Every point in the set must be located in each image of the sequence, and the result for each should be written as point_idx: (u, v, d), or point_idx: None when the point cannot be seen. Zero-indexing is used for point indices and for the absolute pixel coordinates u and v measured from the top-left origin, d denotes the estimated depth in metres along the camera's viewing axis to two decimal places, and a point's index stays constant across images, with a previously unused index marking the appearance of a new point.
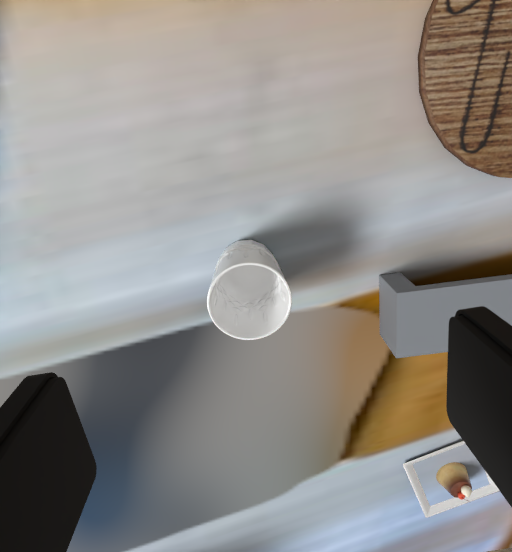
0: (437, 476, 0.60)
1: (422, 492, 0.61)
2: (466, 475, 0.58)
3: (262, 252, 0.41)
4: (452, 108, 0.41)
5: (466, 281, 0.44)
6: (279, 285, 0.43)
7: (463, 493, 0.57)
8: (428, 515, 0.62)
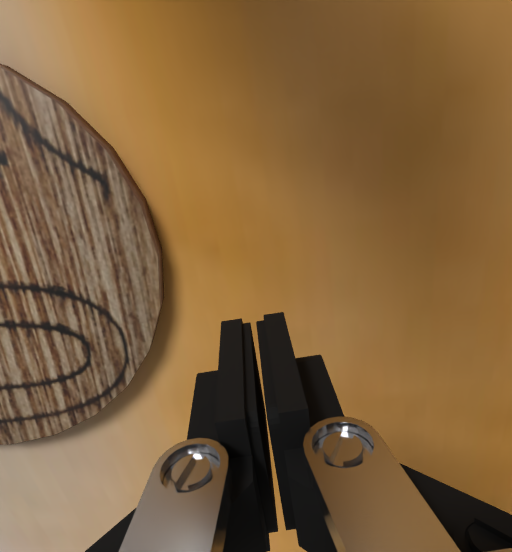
0: None
1: None
2: None
3: None
4: None
5: None
6: None
7: None
8: None
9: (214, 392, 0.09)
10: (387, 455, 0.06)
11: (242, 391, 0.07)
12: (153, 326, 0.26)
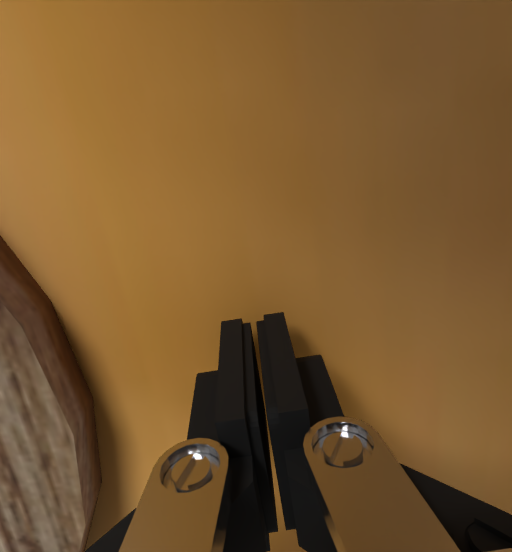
0: None
1: None
2: None
3: None
4: None
5: None
6: None
7: None
8: None
9: (215, 392, 0.09)
10: (387, 455, 0.06)
11: (242, 391, 0.07)
12: None
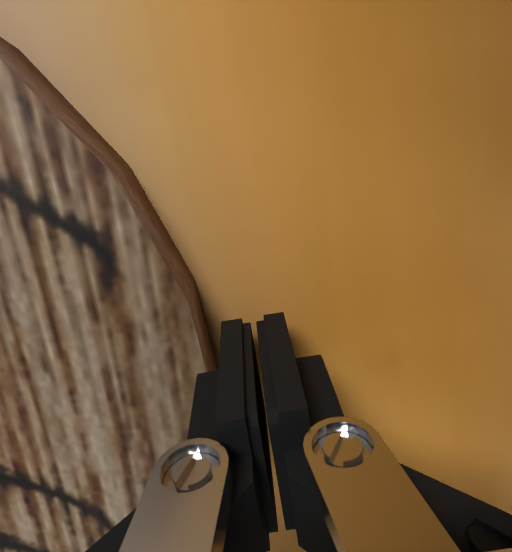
0: None
1: None
2: None
3: None
4: None
5: None
6: None
7: None
8: None
9: (215, 393, 0.09)
10: (387, 455, 0.06)
11: (242, 391, 0.07)
12: None
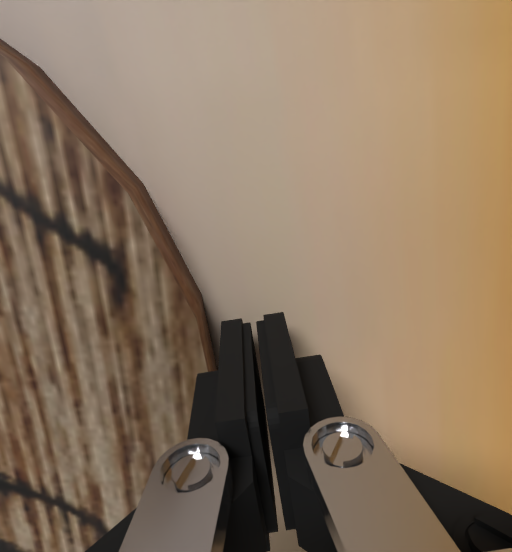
0: None
1: None
2: None
3: None
4: None
5: None
6: None
7: None
8: None
9: (215, 392, 0.09)
10: (387, 455, 0.06)
11: (242, 391, 0.07)
12: None
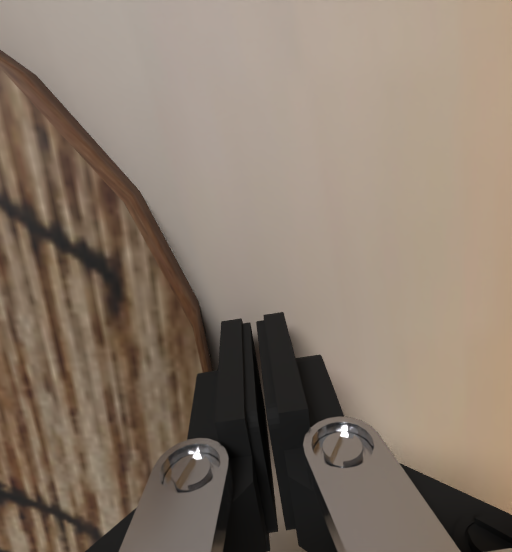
0: None
1: None
2: None
3: None
4: None
5: None
6: None
7: None
8: None
9: (215, 393, 0.09)
10: (387, 455, 0.06)
11: (242, 391, 0.07)
12: None
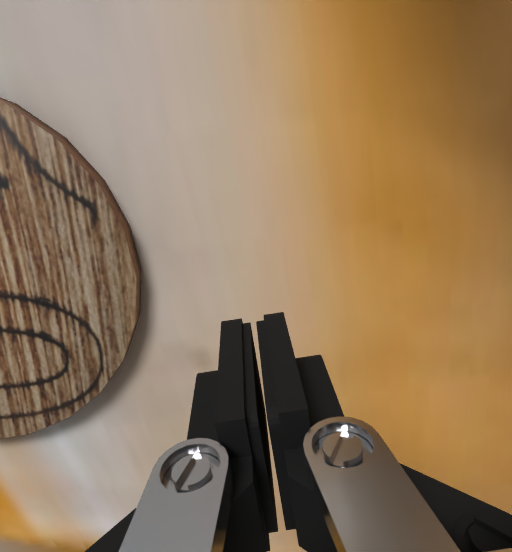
0: None
1: None
2: None
3: None
4: None
5: None
6: None
7: None
8: None
9: (215, 392, 0.09)
10: (387, 455, 0.06)
11: (242, 391, 0.07)
12: (128, 339, 0.28)
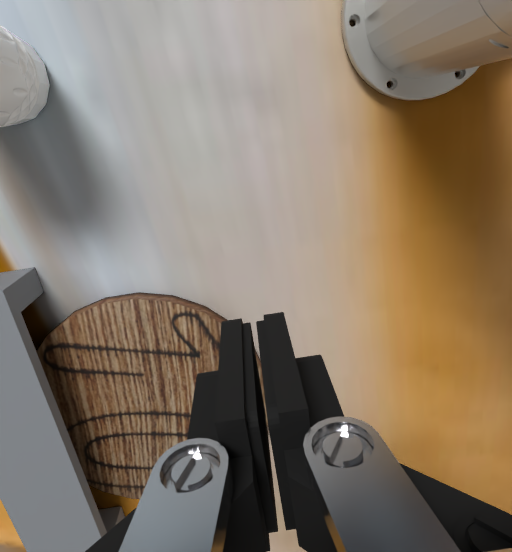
0: None
1: None
2: None
3: (22, 93, 0.28)
4: (86, 332, 0.39)
5: (40, 368, 0.36)
6: None
7: None
8: None
9: (215, 393, 0.09)
10: (387, 455, 0.06)
11: (242, 391, 0.07)
12: None
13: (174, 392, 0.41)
